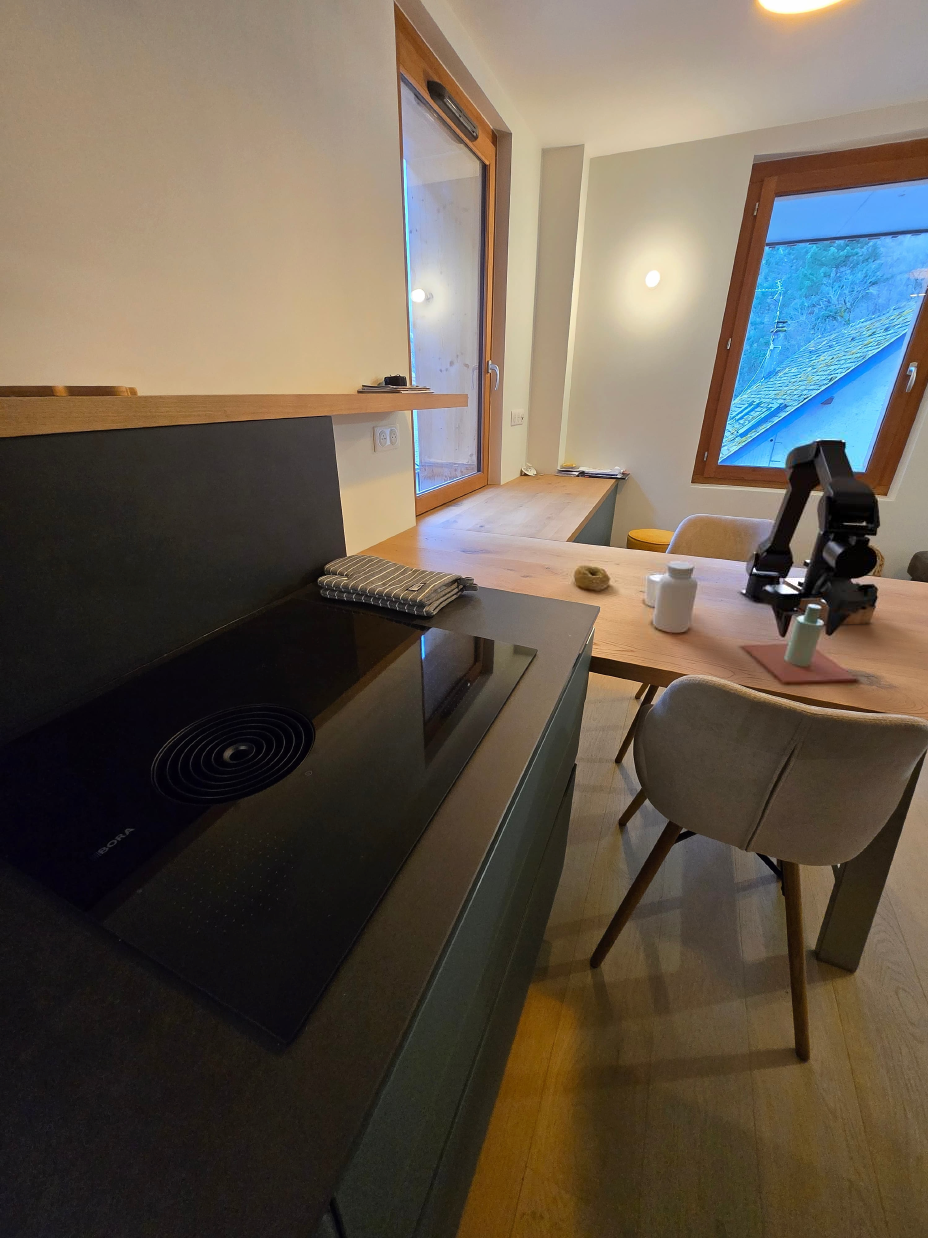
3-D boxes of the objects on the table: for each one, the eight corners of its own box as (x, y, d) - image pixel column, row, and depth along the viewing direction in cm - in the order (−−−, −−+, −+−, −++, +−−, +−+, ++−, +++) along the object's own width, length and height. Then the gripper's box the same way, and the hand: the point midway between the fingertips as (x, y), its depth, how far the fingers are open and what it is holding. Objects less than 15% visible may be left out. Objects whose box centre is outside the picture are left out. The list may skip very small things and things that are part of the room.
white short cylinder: (670, 599, 128) (675, 574, 125) (671, 610, 122) (676, 583, 119) (642, 596, 130) (646, 571, 127) (642, 606, 124) (646, 580, 121)
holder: (826, 624, 114) (832, 607, 112) (778, 594, 130) (783, 578, 128) (869, 623, 114) (876, 605, 112) (816, 593, 130) (821, 577, 128)
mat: (783, 683, 92) (784, 681, 92) (742, 647, 105) (743, 645, 104) (856, 680, 93) (857, 678, 92) (806, 645, 105) (807, 643, 105)
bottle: (793, 667, 96) (811, 611, 91) (779, 655, 100) (795, 601, 95) (815, 666, 96) (834, 610, 91) (800, 655, 100) (818, 601, 95)
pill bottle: (646, 619, 118) (655, 559, 111) (678, 617, 118) (690, 558, 112) (661, 634, 110) (672, 571, 104) (695, 632, 111) (708, 570, 104)
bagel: (583, 593, 133) (584, 576, 130) (567, 579, 142) (568, 563, 140) (617, 590, 134) (619, 573, 132) (599, 576, 144) (600, 560, 142)
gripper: (809, 576, 82) (784, 658, 88) (918, 573, 82) (885, 654, 89) (768, 555, 92) (749, 630, 98) (866, 552, 92) (840, 627, 99)
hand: (805, 635), depth 96 cm, fingers open, 9 cm apart
